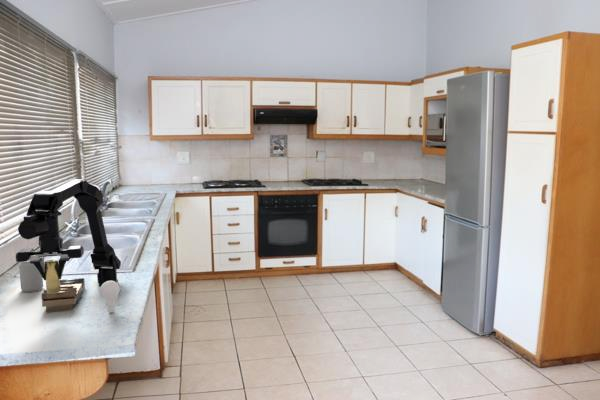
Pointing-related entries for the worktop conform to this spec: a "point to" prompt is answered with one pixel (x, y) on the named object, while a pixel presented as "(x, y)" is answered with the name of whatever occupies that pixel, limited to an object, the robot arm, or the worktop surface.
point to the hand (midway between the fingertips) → (52, 279)
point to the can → (30, 277)
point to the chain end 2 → (75, 281)
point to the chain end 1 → (61, 298)
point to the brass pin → (52, 276)
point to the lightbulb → (110, 294)
